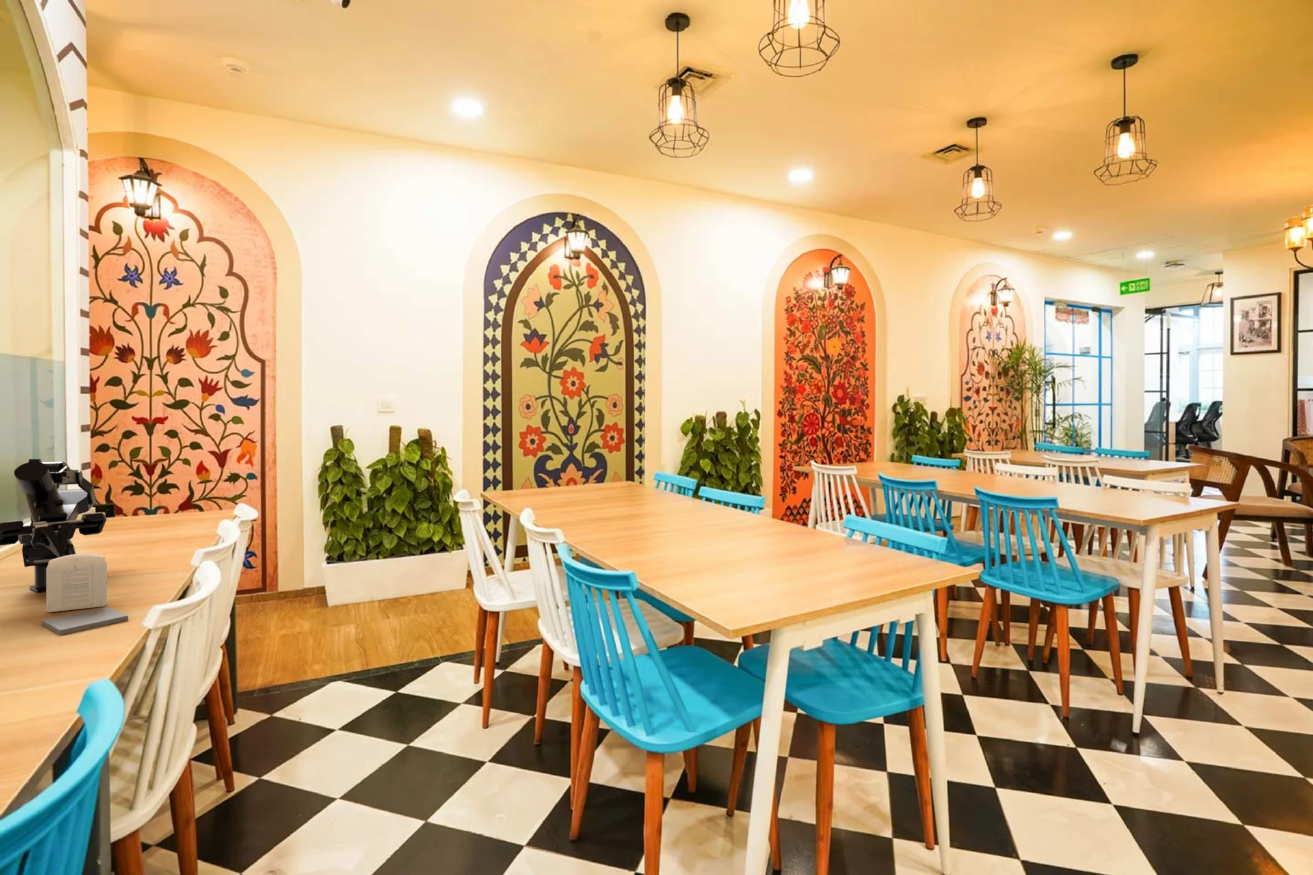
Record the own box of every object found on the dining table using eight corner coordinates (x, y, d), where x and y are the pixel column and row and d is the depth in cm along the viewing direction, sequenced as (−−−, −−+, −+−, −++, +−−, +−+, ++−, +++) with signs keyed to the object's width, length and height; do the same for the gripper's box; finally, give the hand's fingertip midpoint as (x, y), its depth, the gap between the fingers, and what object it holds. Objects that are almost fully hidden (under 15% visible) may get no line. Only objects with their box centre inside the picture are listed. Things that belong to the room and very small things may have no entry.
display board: (41, 624, 131) (41, 619, 131) (108, 610, 141) (108, 606, 141) (59, 634, 125) (59, 630, 125) (128, 620, 135) (128, 615, 135)
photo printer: (109, 602, 147) (108, 550, 146) (105, 607, 143) (104, 553, 143) (49, 609, 141) (48, 555, 141) (44, 614, 138) (43, 558, 137)
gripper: (87, 520, 163) (104, 568, 157) (-17, 531, 147) (-2, 585, 141) (98, 492, 158) (115, 541, 153) (-8, 500, 142) (7, 555, 137)
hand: (61, 556), depth 146 cm, fingers closed
